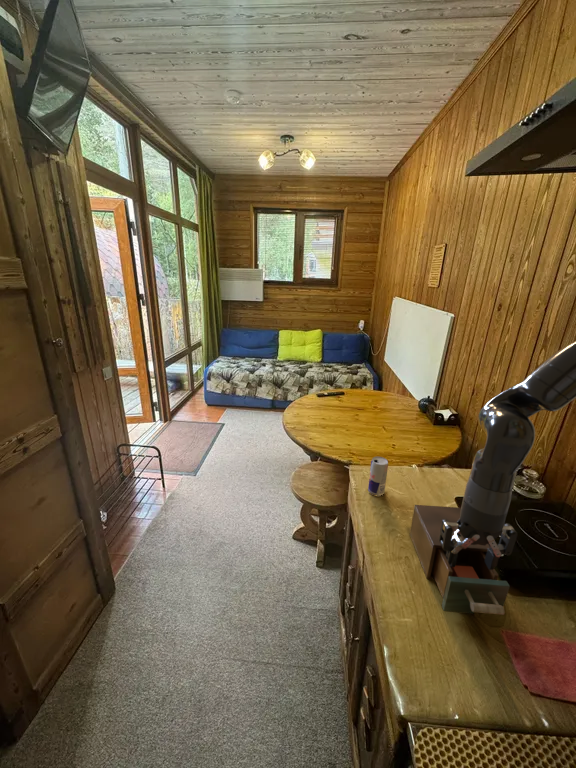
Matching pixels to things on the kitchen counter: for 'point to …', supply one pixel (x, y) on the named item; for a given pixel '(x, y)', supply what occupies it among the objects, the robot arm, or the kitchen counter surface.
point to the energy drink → (378, 476)
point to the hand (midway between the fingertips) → (469, 564)
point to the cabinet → (433, 533)
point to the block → (464, 572)
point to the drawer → (469, 584)
